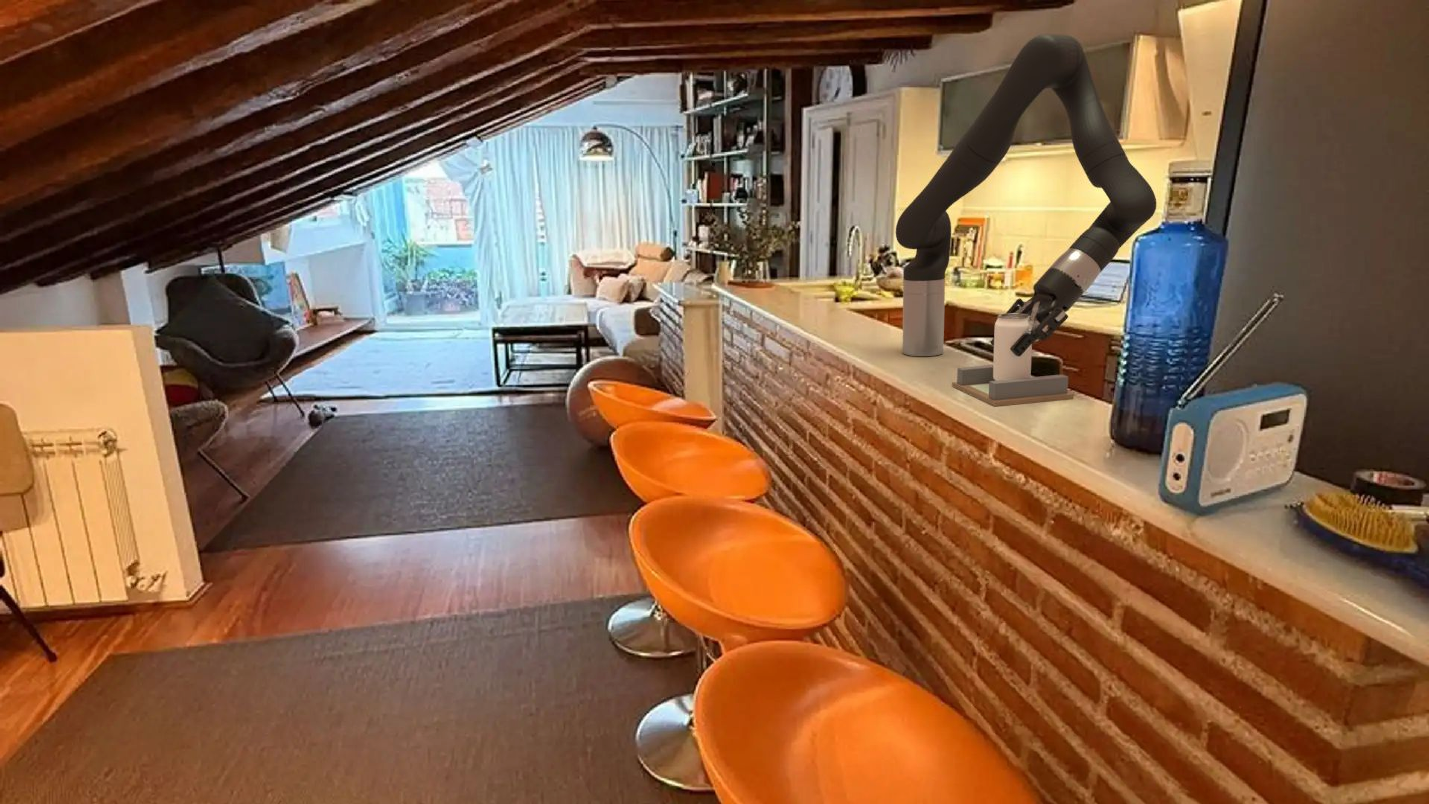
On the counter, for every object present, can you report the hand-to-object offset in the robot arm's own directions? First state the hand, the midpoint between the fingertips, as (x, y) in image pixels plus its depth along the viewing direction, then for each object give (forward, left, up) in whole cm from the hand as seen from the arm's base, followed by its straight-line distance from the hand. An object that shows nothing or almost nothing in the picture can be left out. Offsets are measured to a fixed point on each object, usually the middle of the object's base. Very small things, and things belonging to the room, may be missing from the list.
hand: (1004, 349), depth 145 cm
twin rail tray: (0, +2, -8) cm, 8 cm away
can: (0, +2, -6) cm, 6 cm away
